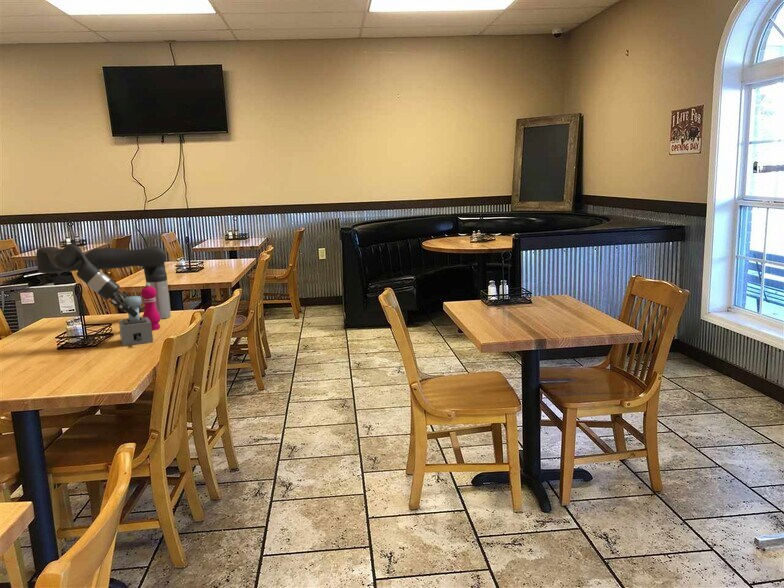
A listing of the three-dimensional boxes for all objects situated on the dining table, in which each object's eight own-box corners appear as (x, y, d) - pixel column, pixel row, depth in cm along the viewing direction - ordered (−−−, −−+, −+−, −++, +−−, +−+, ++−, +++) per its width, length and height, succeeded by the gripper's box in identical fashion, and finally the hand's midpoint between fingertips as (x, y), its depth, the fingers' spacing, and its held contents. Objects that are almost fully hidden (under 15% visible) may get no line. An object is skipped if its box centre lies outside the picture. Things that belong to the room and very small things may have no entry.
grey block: (120, 339, 253) (118, 319, 252) (149, 336, 258) (147, 315, 256) (123, 346, 244) (120, 324, 242) (153, 342, 249) (150, 320, 247)
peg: (125, 324, 251) (122, 297, 249) (142, 323, 254) (140, 295, 252) (126, 328, 245) (124, 299, 243) (144, 326, 248) (141, 298, 246)
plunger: (134, 337, 249) (133, 332, 248) (139, 336, 250) (138, 331, 249) (136, 342, 241) (135, 337, 241) (141, 341, 242) (141, 336, 242)
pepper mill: (164, 326, 273) (159, 281, 270) (156, 331, 266) (151, 284, 262) (148, 326, 274) (143, 281, 270) (140, 331, 267) (135, 284, 263)
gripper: (103, 289, 252) (136, 316, 256) (91, 296, 238) (126, 325, 242) (115, 275, 252) (149, 303, 256) (104, 281, 238) (139, 310, 242)
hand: (138, 313), depth 249 cm, fingers closed on peg, 6 cm apart
